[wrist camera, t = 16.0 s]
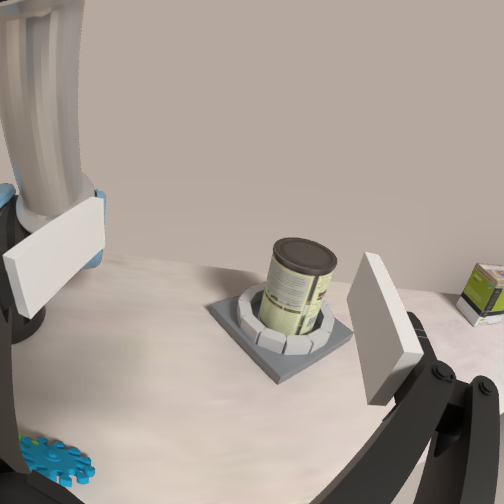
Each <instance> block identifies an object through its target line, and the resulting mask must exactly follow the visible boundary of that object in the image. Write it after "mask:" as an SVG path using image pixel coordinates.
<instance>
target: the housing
mask: <svg viewBox="0 0 504 504" xmlns="http://www.w3.org/2000/svg"><path fill="white" fill-rule="evenodd" d="M265 285H266V282H263V283H259V284H256V285H253V286H250V287H249V288H247V289H246V290H245V292H244V293H243V294H242V295H240V296H237V297H234V298H231V299H228V300H224V301H221V302H218V303H215V304H211V309H210V314H211V315H212V316H213V317H214V318H215V319H216V320H217V321H218V322H219V324H220V325H221V326H222V327H223V328H224V329H225V330H226V331H227V332H228V333H229V335H230V336H231V337H232V338H233V339H234V340H235V341H236V342H237V343H238V344H239V345H240V346H241V347H242V348H243V350H244V351H245V352H246V353H247V354H248V355H249V356H250V357H251V358H252V359H253V360H254V361H255V362H256V363H257V364H258V365H259V366H260V367H261V368H262V369H263V370H264V371H265V372H266V373H267V374H268V376H269V377H270V378H271V379H272V380H273V381H274V382H275V383H276V384H277V385H278V384H280V383H282V382H283V381H285V380H287V379H289V378H290V377H292V376H294V375H295V374H297V373H299V372H301V371H302V370H304V369H306V368H307V367H309V366H310V365H312V364H314V363H315V362H317V361H319V360H320V359H322V358H323V357H325V356H326V355H328V354H330V353H331V352H333V351H334V350H336V349H337V348H339V347H340V346H342V345H343V344H345V343H346V342H348V341H349V340H350V339H351V337H352V335H353V333H354V332H353V331H351V330H350V329H349V328H347V327H346V326H345V325H343V324H342V323H341V322H340V321H338V320H337V319H336V318H335V317H334V315H333V313H332V311H331V309H330V307H329V306H328V304H326V302H325V301H324V300H323V302H322V304H321V307H320V310H319V312H318V315H317V318H316V320H315V323H314V326H313V329H312V331H311V333H310V334H308V335H285V334H282V333H280V332H277V331H274V330H272V329H269V328H266V327H265V326H264V325H263V324H262V323H261V322H260V321H259V320H258V313H259V310H260V306H261V302H262V298H263V293H264V289H265Z"/></svg>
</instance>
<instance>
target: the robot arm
mask: <svg viewBox="0 0 504 504" xmlns="http://www.w3.org/2000/svg"><path fill="white" fill-rule="evenodd" d="M84 4H85V0H0V118H1V122H2V128H3V132H4V137H5V141H6V145H7V149H8V153H9V157H10V161H11V164H12V168H13V171H14V175H15V178H16V181H17V185H18V188H19V191H20V194H19V195H15V193H16V190H15V188H14V186H13V185H12V184H8V183H2V184H0V504H85V503H83V502H82V501H81V500H80V499H78V498H77V497H76V496H75V495H73V494H72V493H71V492H70V491H69V490H67V489H66V488H65V487H63V486H61V485H60V484H58V483H56V482H54V481H52V480H51V479H49V478H47V477H46V476H44V475H42V474H41V473H39V472H37V471H36V470H34V469H32V471H31V472H30V469H29V467H28V465H27V463H26V462H25V460H24V458H23V455H22V453H21V449H20V443H19V437H18V431H17V424H16V416H15V408H14V398H13V384H12V361H11V344H14V343H17V342H20V341H22V340H24V339H26V338H28V337H29V336H31V335H32V334H33V333H34V332H35V331H36V330H37V329H38V328H39V327H40V325H41V324H42V322H43V320H44V317H45V312H46V310H45V304H46V303H47V302H48V300H49V299H50V298H51V297H52V296H53V295H54V294H55V293H56V292H57V291H58V290H59V289H60V288H61V287H62V286H63V285H64V284H65V283H66V282H67V281H68V280H70V279H71V278H72V277H73V276H74V275H75V274H76V273H77V272H78V271H80V270H82V269H89V268H95V267H97V266H98V265H99V264H100V263H101V260H102V253H103V248H104V247H105V235H104V223H105V204H106V195H105V193H104V192H103V191H98V190H94V187H93V184H92V182H91V180H90V179H89V178H88V176H86V174H84V173H83V172H81V162H80V148H79V132H78V131H79V130H78V68H79V50H80V38H81V28H82V19H83V11H84ZM347 303H348V307H349V311H350V316H351V320H352V325H353V329H354V334H355V339H356V344H357V349H358V354H359V359H360V364H361V370H362V375H363V381H364V386H365V392H366V398H367V405H381V406H386V405H387V404H388V402H389V401H390V400H391V399H392V397H393V396H394V399H395V403H396V405H395V406H394V407H393V408H392V410H391V411H390V412H389V413H388V414H387V415H386V417H385V418H384V419H383V420H382V421H383V422H382V423H381V424H380V426H379V427H378V428H377V430H376V431H375V432H374V433H373V435H372V436H371V437H370V439H369V440H368V441H367V442H366V443H365V445H364V446H363V447H362V448H361V449H360V451H359V452H358V453H357V454H356V455H355V456H354V458H353V459H352V460H351V461H350V462H349V463H348V464H347V466H346V467H345V468H344V469H343V470H342V471H341V472H340V473H339V474H338V475H337V476H336V477H335V478H334V480H333V481H332V482H331V483H330V484H329V485H328V486H327V487H326V488H325V489H324V490H323V491H322V492H321V493H320V494H319V495H318V496H317V497H316V498H315V499H314V500H312V501H311V502H310V503H309V504H391V502H392V501H393V500H394V498H395V497H396V495H397V494H398V492H399V491H400V489H401V488H402V486H403V485H404V483H405V482H406V480H407V479H408V477H409V475H410V474H411V472H412V470H413V469H414V467H415V465H416V464H417V462H418V460H419V459H420V457H421V455H422V453H423V452H424V450H425V448H426V446H427V444H428V442H429V440H430V439H431V442H430V446H429V451H428V455H427V459H426V463H425V467H424V470H423V474H422V477H421V481H420V484H419V487H418V491H417V494H416V497H415V500H414V503H413V504H494V501H495V493H496V485H497V477H498V464H499V445H500V412H499V393H498V389H497V387H496V386H495V384H494V382H492V380H490V379H489V378H487V377H485V376H481V375H480V376H476V377H475V378H474V379H473V380H472V382H471V383H470V384H468V383H465V382H462V381H459V380H457V379H456V376H455V373H454V371H453V370H452V368H451V367H449V366H448V365H447V364H446V363H444V362H442V361H439V360H437V358H436V355H435V353H434V351H433V348H432V346H431V344H430V342H429V339H428V338H427V335H426V333H425V331H424V328H423V326H422V324H421V322H420V320H419V319H418V318H417V317H416V316H415V315H414V314H413V313H412V312H407V311H406V310H405V308H404V306H403V303H402V301H401V299H400V297H399V295H398V293H397V291H396V288H395V286H394V284H393V282H392V280H391V278H390V276H389V274H388V272H387V270H386V268H385V266H384V264H383V262H382V260H381V258H380V256H379V255H377V254H373V253H369V252H364V255H363V257H362V260H361V263H360V266H359V268H358V271H357V273H356V276H355V279H354V281H353V284H352V286H351V289H350V291H349V294H348V296H347Z"/></svg>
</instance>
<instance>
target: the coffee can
mask: <svg viewBox="0 0 504 504" xmlns="http://www.w3.org/2000/svg"><path fill="white" fill-rule="evenodd" d="M336 265H337V258H336V256H335V254H334V253H332V251H330V250H329V249H328V248H326V247H325V246H323V245H321V244H318V243H316V242H314V241H310V240H307V239H302V238H283V239H280V240H278V241H277V242H276V243H275V244H274V247H273V255H272V259H271V263H270V268H269V272H268V276H267V281H266V285H265V289H264V293H263V298H262V302H261V306H260V310H259V313H258V320H259V321H260V322H261V323H262V324H263V325H264V326H265V327H266V328H269V329H272V330H274V331H277V332H280V333H282V334H285V335H308V334H310V333H311V331H312V329H313V326H314V323H315V320H316V318H317V315H318V312H319V310H320V307H321V304H322V302H323V299H324V296H325V293H326V291H327V288H328V285H329V282H330V279H331V276H332V273H333V271H334V269H335V267H336Z"/></svg>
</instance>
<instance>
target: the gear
mask: <svg viewBox="0 0 504 504" xmlns="http://www.w3.org/2000/svg"><path fill="white" fill-rule="evenodd" d="M18 437H19V443H20V449H21V453H22V455H23V458H24V460H25V462H26V463H27V465H28V467H29V469H30V472H31V471H32V469H34V470H36V471H38V472H39V473H41V474H42V475H44V476H46V477H47V478H49V479H51V480H52V481H54V482H56V476H59V484H60V485H62V486H66V487H71V486H72V479H71V478H70V477H69V476H68V475H74V476H76V477H77V482H78V483H79V484H87V483H89V477H92V476H94V474H95V468H94V467H92V466H91V459H90V458H89V457H80V454H81V452H80V451H79V450H78V449H76V448H71V449H68V450H64V446H65V444H63V443H61V442H59V441H55V444H53V445H51V446H47V439H45V438H41V437H37V441H34V440H32V439H31V438H29V437H22V435H21V434H19V433H18ZM79 470H80V471H82V472H84V473H82V472H80V471H79Z"/></svg>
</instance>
